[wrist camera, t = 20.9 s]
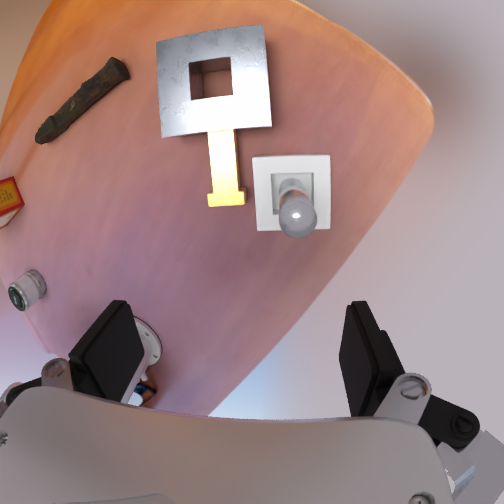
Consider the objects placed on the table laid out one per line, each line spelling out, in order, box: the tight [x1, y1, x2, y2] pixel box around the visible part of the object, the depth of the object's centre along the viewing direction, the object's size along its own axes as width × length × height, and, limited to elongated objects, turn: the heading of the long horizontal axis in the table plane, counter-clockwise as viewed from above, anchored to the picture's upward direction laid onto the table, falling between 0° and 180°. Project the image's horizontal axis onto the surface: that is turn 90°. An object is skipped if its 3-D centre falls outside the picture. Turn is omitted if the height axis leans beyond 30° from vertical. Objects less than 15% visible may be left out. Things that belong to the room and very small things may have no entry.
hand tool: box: [35, 57, 130, 145], centre depth 30 cm, size 19×4×5 cm, turn 114°
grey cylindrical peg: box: [279, 178, 317, 238], centre depth 29 cm, size 3×3×13 cm
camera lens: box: [8, 270, 46, 311], centre depth 43 cm, size 6×6×8 cm
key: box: [207, 129, 247, 207], centre depth 33 cm, size 13×4×3 cm, turn 4°
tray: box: [252, 154, 331, 231], centre depth 34 cm, size 9×9×3 cm
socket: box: [156, 25, 273, 138], centre depth 28 cm, size 12×12×6 cm
